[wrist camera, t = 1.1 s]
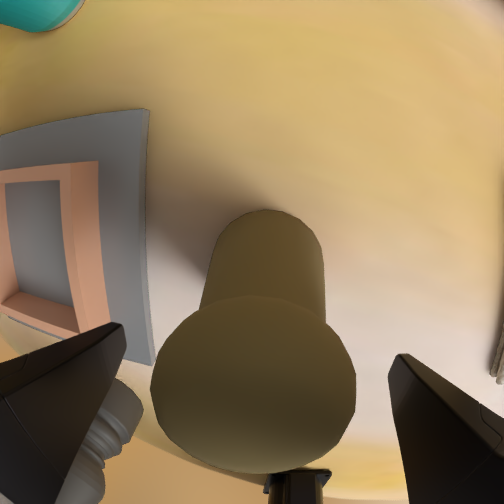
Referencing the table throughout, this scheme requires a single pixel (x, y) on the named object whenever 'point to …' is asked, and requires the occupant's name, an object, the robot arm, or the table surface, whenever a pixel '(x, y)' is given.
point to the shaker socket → (77, 227)
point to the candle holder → (101, 445)
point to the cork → (257, 355)
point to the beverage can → (38, 13)
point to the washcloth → (499, 361)
